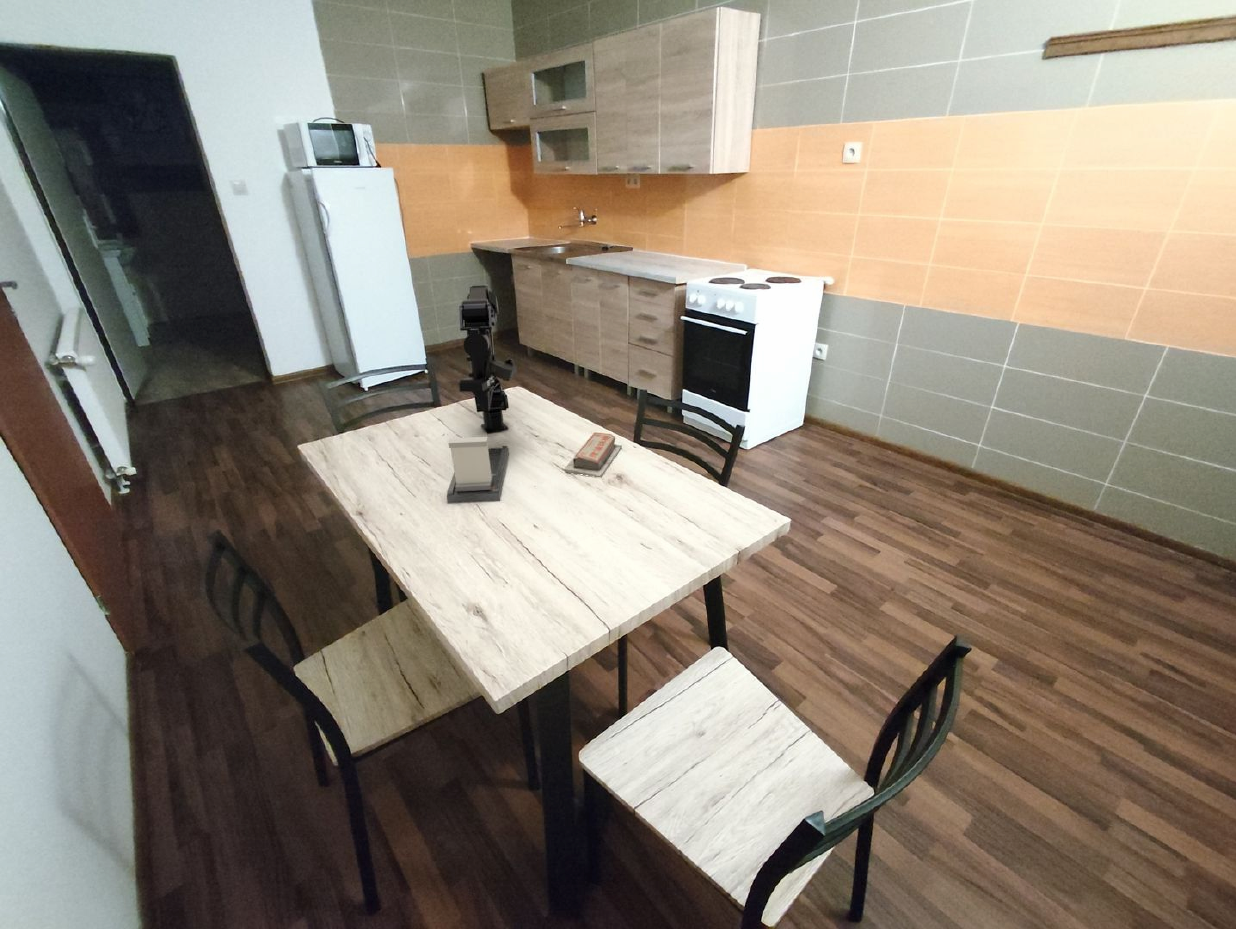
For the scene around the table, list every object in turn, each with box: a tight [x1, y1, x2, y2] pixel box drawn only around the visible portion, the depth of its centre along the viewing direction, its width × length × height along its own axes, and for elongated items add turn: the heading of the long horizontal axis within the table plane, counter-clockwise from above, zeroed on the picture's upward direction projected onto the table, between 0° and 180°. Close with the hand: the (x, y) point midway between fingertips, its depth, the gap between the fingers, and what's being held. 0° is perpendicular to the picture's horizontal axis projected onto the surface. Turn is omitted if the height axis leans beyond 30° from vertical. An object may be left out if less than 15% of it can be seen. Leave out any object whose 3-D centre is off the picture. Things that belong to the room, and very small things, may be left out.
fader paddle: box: [448, 436, 493, 491], centre depth 131 cm, size 5×8×12 cm, turn 94°
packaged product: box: [563, 432, 623, 478], centre depth 149 cm, size 18×5×10 cm
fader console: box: [446, 445, 510, 504], centre depth 142 cm, size 24×12×3 cm, turn 4°
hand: (487, 410), depth 150 cm, fingers closed
